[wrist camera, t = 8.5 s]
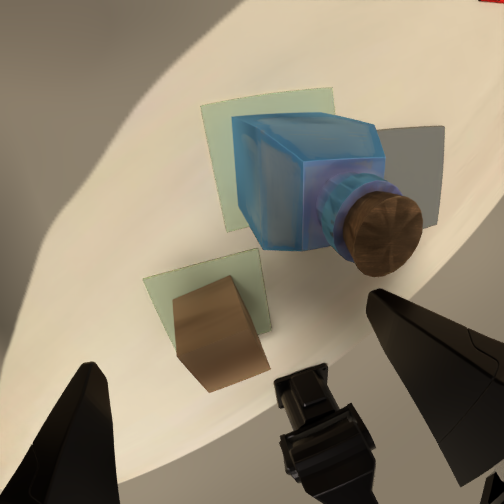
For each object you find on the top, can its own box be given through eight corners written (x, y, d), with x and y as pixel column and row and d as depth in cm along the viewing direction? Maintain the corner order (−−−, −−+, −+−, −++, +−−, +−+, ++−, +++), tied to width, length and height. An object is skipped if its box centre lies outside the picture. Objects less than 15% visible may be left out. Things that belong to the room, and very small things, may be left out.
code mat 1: (339, 203, 23) (340, 204, 23) (226, 231, 22) (226, 232, 22) (331, 87, 18) (332, 87, 18) (200, 105, 17) (200, 106, 17)
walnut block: (250, 317, 26) (270, 369, 21) (199, 338, 26) (209, 393, 21) (230, 274, 24) (248, 328, 19) (172, 299, 23) (176, 356, 18)
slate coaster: (434, 222, 27) (436, 224, 27) (354, 247, 26) (357, 249, 25) (441, 125, 22) (444, 126, 21) (353, 132, 20) (356, 133, 20)
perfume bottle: (321, 112, 19) (459, 152, 9) (320, 195, 22) (429, 289, 12) (231, 116, 18) (314, 153, 8) (238, 206, 21) (306, 326, 11)
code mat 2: (271, 329, 28) (271, 330, 28) (178, 354, 27) (178, 355, 27) (257, 247, 23) (258, 249, 23) (142, 278, 22) (142, 279, 22)
